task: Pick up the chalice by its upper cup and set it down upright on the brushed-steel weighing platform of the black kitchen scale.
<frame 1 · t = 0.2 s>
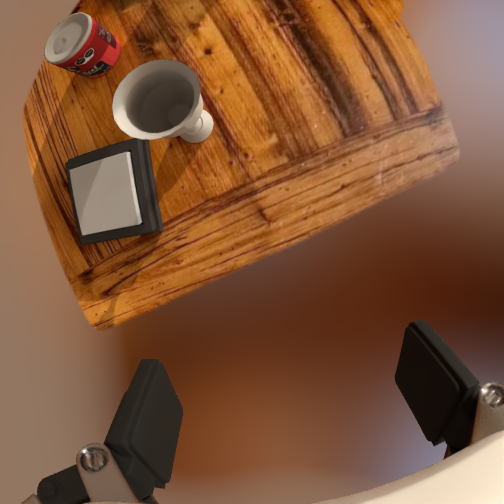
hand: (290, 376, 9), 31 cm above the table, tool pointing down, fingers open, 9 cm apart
chalice: (195, 125, 35), on the table
scale: (113, 192, 37), on the table
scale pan: (103, 194, 34), point 3 cm above the table, slide at 0.0 cm
canned food: (101, 58, 30), on the table
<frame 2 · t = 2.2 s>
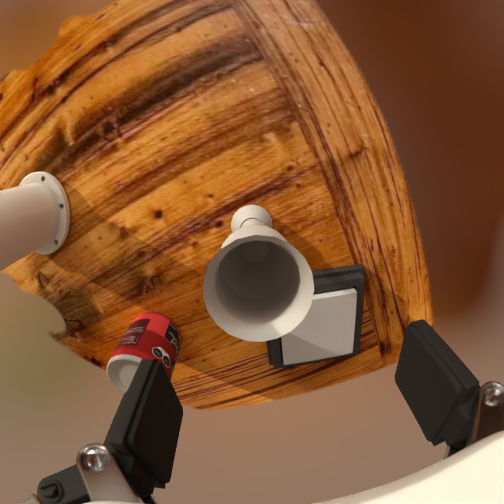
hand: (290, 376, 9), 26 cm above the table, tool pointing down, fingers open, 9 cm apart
chalice: (251, 225, 34), on the table
scale: (313, 315, 38), on the table
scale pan: (318, 328, 35), point 3 cm above the table, slide at 0.0 cm
canned food: (157, 331, 39), on the table
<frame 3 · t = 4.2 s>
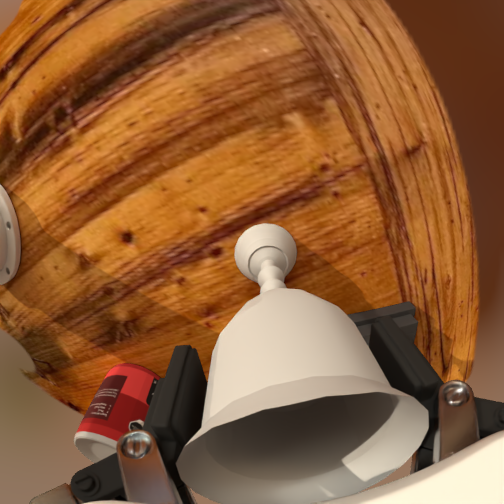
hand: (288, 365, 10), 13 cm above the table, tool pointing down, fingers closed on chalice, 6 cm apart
chalice: (265, 253, 22), on the table, touching gripper
scale: (343, 367, 27), on the table
canned food: (140, 384, 27), on the table
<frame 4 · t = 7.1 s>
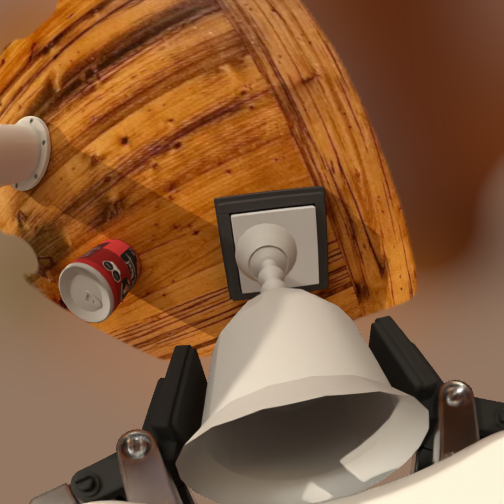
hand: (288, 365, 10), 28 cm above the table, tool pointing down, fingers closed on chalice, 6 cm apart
chalice: (266, 253, 22), point 14 cm above the table, touching gripper
scale: (274, 242, 37), on the table
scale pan: (277, 250, 34), point 3 cm above the table, slide at 0.0 cm
canned food: (119, 262, 38), on the table
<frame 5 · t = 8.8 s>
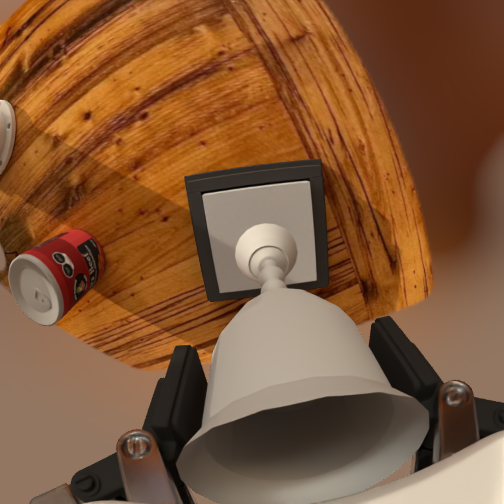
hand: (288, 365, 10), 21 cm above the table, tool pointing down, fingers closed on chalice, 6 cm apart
chalice: (266, 253, 22), point 8 cm above the table, touching gripper
scale: (260, 229, 30), on the table
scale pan: (262, 237, 27), point 3 cm above the table, slide at 0.0 cm
canned food: (82, 255, 31), on the table
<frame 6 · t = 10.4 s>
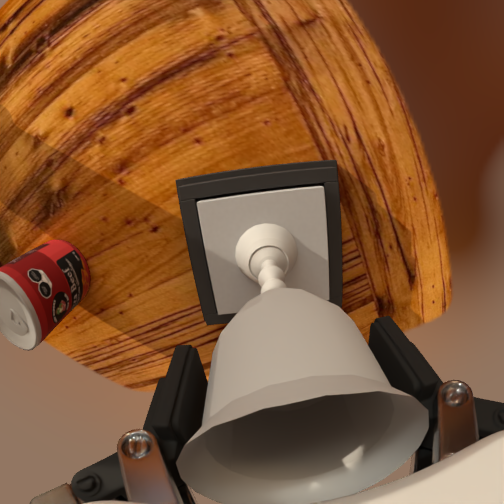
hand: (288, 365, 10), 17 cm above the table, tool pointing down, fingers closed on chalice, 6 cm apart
chalice: (266, 253, 23), point 4 cm above the table, touching gripper, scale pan
scale: (265, 242, 26), on the table
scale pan: (267, 252, 23), point 3 cm above the table, slide at -0.3 cm, touching chalice
canned food: (66, 268, 27), on the table
when the fingers open (17 cm above the table, at t = 10.5 s): chalice stays where it is, resting on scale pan.
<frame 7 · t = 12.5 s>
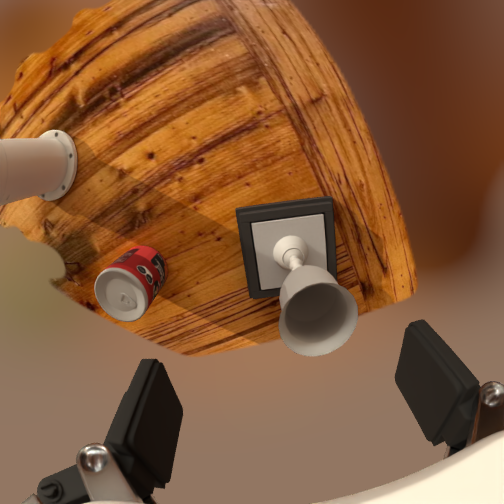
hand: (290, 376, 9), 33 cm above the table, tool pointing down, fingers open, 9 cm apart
chalice: (290, 252, 39), point 3 cm above the table, touching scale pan
scale: (288, 246, 42), on the table
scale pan: (291, 251, 40), point 2 cm above the table, slide at -0.9 cm, touching chalice
canned food: (146, 266, 43), on the table
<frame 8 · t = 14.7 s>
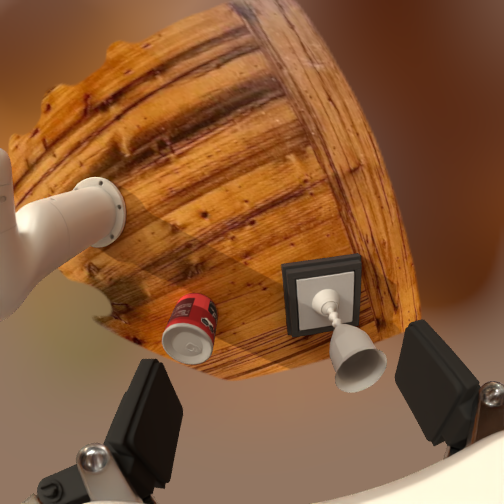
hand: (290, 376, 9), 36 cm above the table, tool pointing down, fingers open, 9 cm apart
chalice: (325, 301, 46), point 3 cm above the table, touching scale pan
scale: (322, 294, 49), on the table
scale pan: (325, 300, 47), point 2 cm above the table, slide at -0.9 cm, touching chalice
canned food: (197, 309, 50), on the table
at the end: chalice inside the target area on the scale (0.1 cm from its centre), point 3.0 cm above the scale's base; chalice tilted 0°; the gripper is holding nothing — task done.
